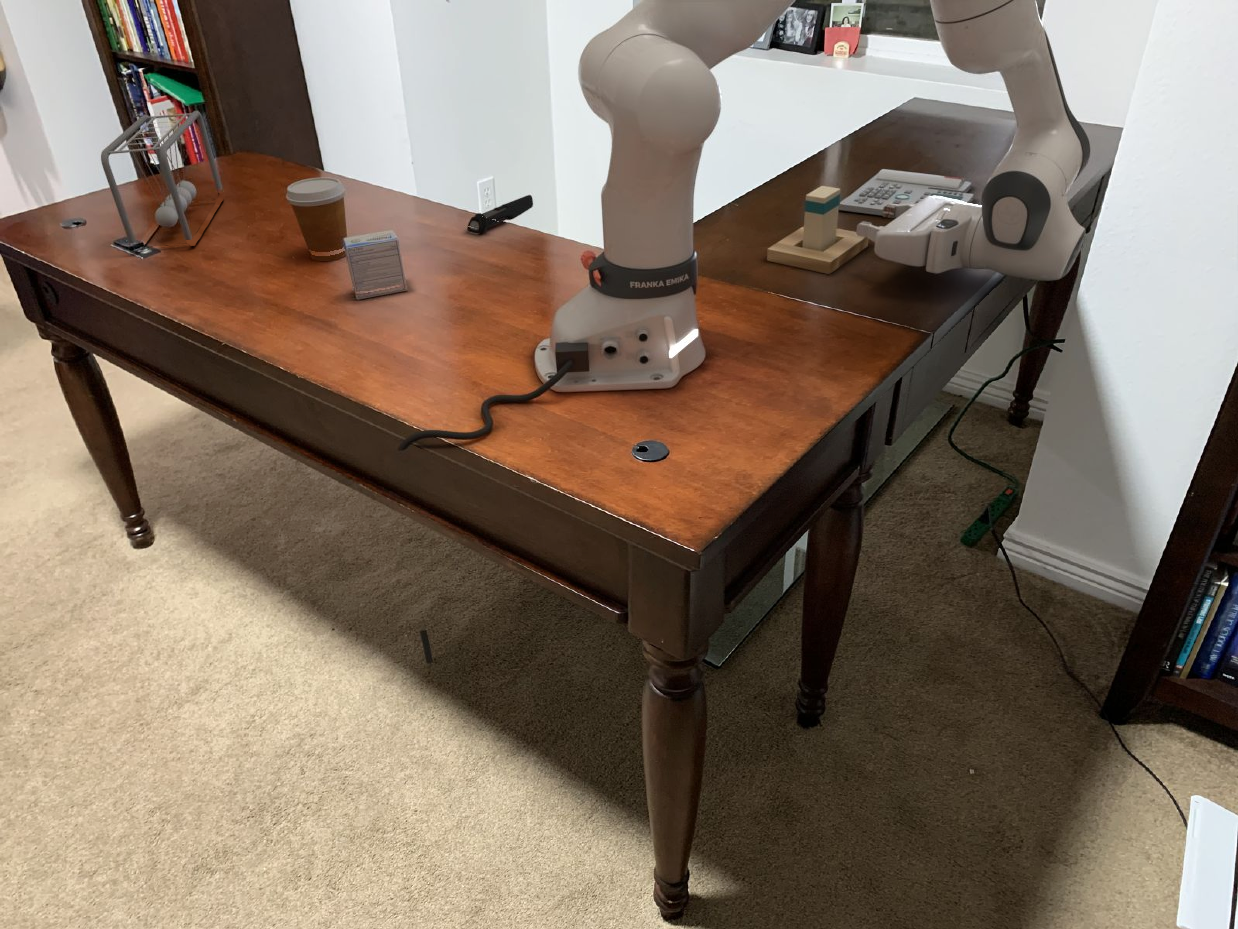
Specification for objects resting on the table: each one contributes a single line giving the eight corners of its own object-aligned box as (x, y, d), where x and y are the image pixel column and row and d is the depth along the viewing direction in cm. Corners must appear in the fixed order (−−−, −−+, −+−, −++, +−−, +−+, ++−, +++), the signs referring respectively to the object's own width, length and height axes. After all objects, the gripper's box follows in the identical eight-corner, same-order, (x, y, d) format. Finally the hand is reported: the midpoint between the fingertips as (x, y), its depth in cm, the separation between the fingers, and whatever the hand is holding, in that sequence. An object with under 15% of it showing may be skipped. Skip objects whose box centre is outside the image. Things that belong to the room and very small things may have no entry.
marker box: (819, 260, 147) (824, 198, 141) (801, 256, 149) (805, 194, 143) (835, 249, 150) (841, 188, 145) (817, 245, 152) (821, 185, 147)
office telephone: (881, 163, 181) (986, 175, 171) (879, 176, 182) (984, 189, 173) (839, 196, 164) (953, 211, 155) (837, 210, 166) (950, 226, 157)
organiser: (829, 274, 142) (830, 262, 141) (766, 260, 148) (767, 248, 147) (868, 246, 151) (869, 234, 150) (807, 234, 157) (808, 222, 156)
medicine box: (403, 281, 147) (393, 228, 142) (408, 291, 143) (398, 237, 139) (353, 290, 145) (341, 237, 140) (357, 301, 141) (345, 246, 136)
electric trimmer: (539, 212, 173) (537, 195, 171) (481, 236, 163) (478, 218, 161) (524, 208, 175) (523, 192, 173) (466, 232, 165) (463, 214, 163)
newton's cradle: (172, 203, 187) (144, 112, 177) (226, 198, 188) (200, 107, 178) (132, 256, 162) (97, 153, 152) (194, 250, 163) (163, 148, 153)
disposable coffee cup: (296, 251, 160) (279, 182, 154) (350, 240, 164) (336, 172, 157) (307, 269, 153) (290, 197, 146) (364, 257, 157) (349, 187, 150)
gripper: (989, 193, 139) (901, 179, 146) (938, 234, 126) (844, 217, 133) (982, 233, 142) (896, 218, 150) (931, 278, 129) (840, 259, 136)
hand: (871, 218), depth 141 cm, fingers open, 8 cm apart
